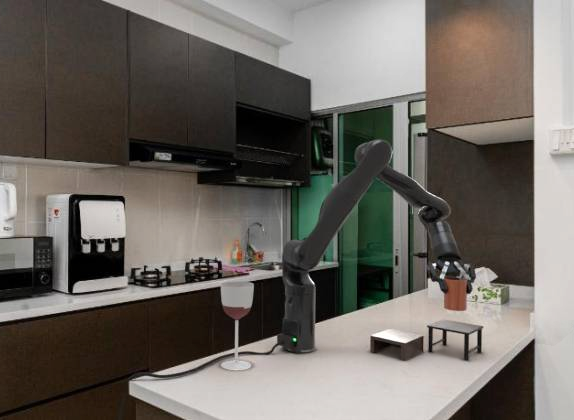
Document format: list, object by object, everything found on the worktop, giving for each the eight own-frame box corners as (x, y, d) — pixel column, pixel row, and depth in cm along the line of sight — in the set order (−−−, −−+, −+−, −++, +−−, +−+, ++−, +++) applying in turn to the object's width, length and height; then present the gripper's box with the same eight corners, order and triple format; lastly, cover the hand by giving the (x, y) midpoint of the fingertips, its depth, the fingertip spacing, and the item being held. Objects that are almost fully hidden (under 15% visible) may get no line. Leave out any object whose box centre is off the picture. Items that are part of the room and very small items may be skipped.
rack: (468, 361, 135) (468, 333, 135) (426, 351, 143) (427, 325, 143) (483, 352, 143) (483, 326, 143) (442, 344, 152) (443, 319, 152)
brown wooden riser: (404, 360, 134) (405, 343, 134) (370, 352, 142) (370, 335, 142) (423, 352, 143) (423, 335, 143) (389, 344, 151) (389, 328, 151)
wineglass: (257, 362, 131) (259, 283, 131) (243, 373, 122) (244, 288, 122) (229, 357, 135) (230, 280, 135) (213, 368, 126) (214, 285, 126)
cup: (461, 311, 139) (462, 281, 139) (440, 308, 143) (441, 278, 143) (469, 308, 143) (470, 279, 143) (448, 305, 148) (449, 276, 147)
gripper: (424, 241, 151) (435, 284, 139) (471, 241, 150) (486, 285, 138) (419, 256, 156) (429, 298, 145) (464, 257, 155) (479, 300, 143)
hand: (457, 292), depth 141 cm, fingers closed on cup, 6 cm apart
